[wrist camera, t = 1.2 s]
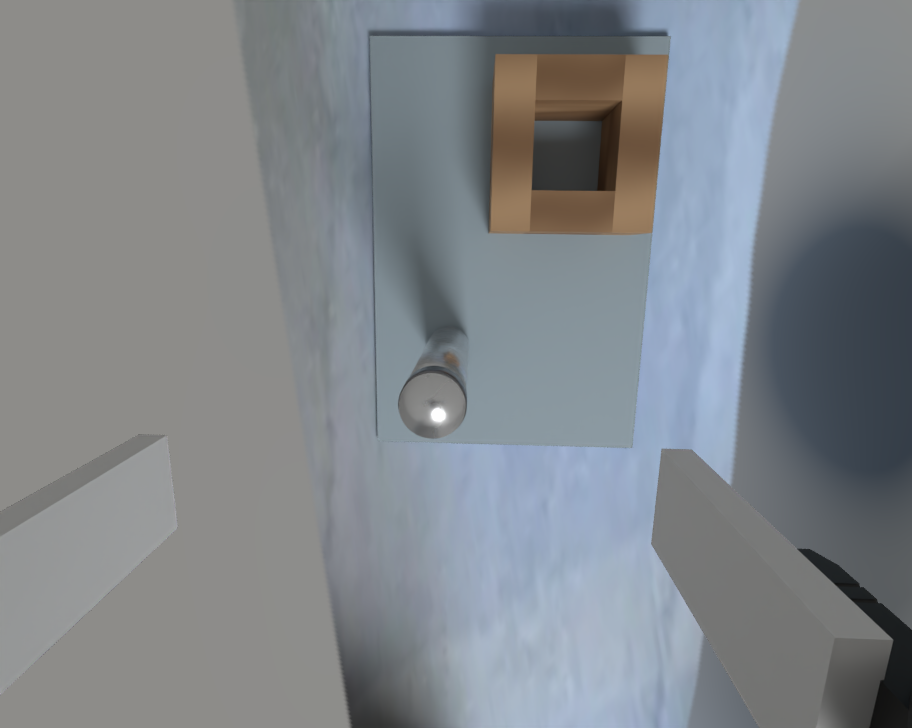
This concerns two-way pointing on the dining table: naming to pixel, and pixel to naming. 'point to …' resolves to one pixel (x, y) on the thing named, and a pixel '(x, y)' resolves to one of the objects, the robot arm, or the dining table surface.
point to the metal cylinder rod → (437, 386)
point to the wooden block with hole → (577, 99)
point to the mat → (498, 253)
